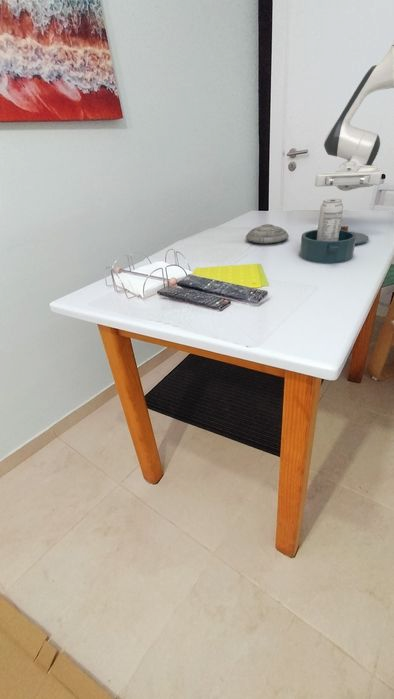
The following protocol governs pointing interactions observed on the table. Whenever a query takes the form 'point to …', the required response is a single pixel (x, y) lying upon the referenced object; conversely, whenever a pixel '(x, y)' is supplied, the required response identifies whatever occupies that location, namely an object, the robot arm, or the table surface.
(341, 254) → the pot
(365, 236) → the pot lid
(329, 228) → the energy drink can
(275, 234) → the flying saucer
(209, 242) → the table surface
